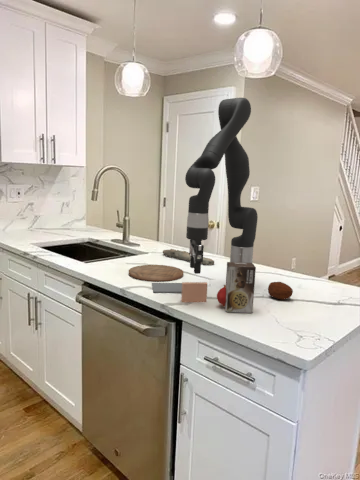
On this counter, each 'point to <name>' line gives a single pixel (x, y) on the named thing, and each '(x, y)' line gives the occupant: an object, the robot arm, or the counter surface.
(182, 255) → the elongated rock
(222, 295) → the pomegranate
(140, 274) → the trivet
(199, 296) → the tile
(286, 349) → the counter surface
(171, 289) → the mat
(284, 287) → the potato
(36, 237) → the counter surface
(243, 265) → the coffee box
